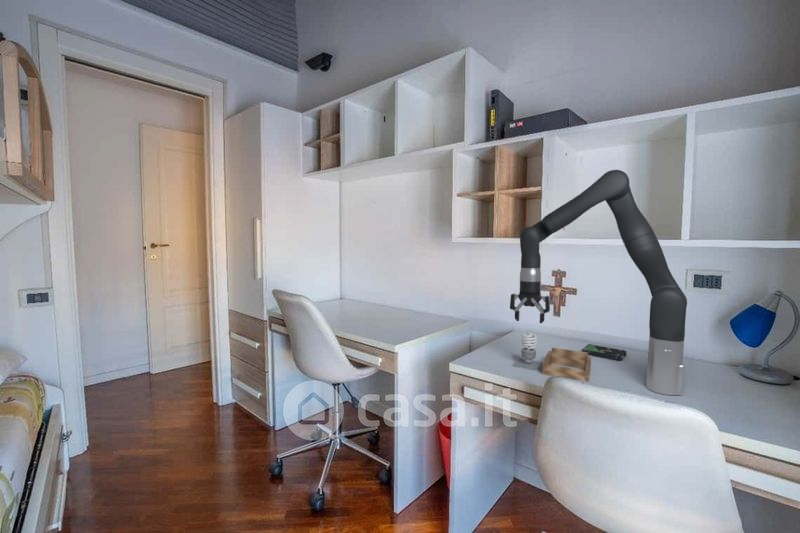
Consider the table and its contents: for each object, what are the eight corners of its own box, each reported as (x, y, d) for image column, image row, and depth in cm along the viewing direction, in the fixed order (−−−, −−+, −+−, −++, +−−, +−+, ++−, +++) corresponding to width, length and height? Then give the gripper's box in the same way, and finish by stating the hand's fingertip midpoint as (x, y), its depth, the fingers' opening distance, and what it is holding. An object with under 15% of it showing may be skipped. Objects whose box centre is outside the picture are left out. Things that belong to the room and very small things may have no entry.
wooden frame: (590, 368, 144) (591, 352, 143) (588, 381, 131) (589, 364, 130) (548, 361, 151) (548, 347, 151) (542, 374, 138) (543, 357, 137)
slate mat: (541, 363, 149) (541, 361, 149) (537, 370, 142) (538, 368, 141) (518, 359, 154) (518, 358, 154) (513, 366, 146) (513, 364, 146)
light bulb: (535, 366, 144) (537, 335, 143) (519, 364, 146) (521, 333, 145) (536, 362, 149) (537, 331, 148) (521, 360, 151) (522, 330, 150)
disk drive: (626, 357, 160) (588, 349, 170) (626, 350, 160) (588, 343, 169) (621, 363, 152) (581, 354, 162) (621, 356, 152) (581, 348, 162)
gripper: (551, 279, 145) (550, 322, 146) (513, 277, 151) (512, 318, 153) (548, 281, 138) (547, 326, 139) (508, 279, 145) (508, 321, 146)
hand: (529, 321), depth 146 cm, fingers open, 8 cm apart
